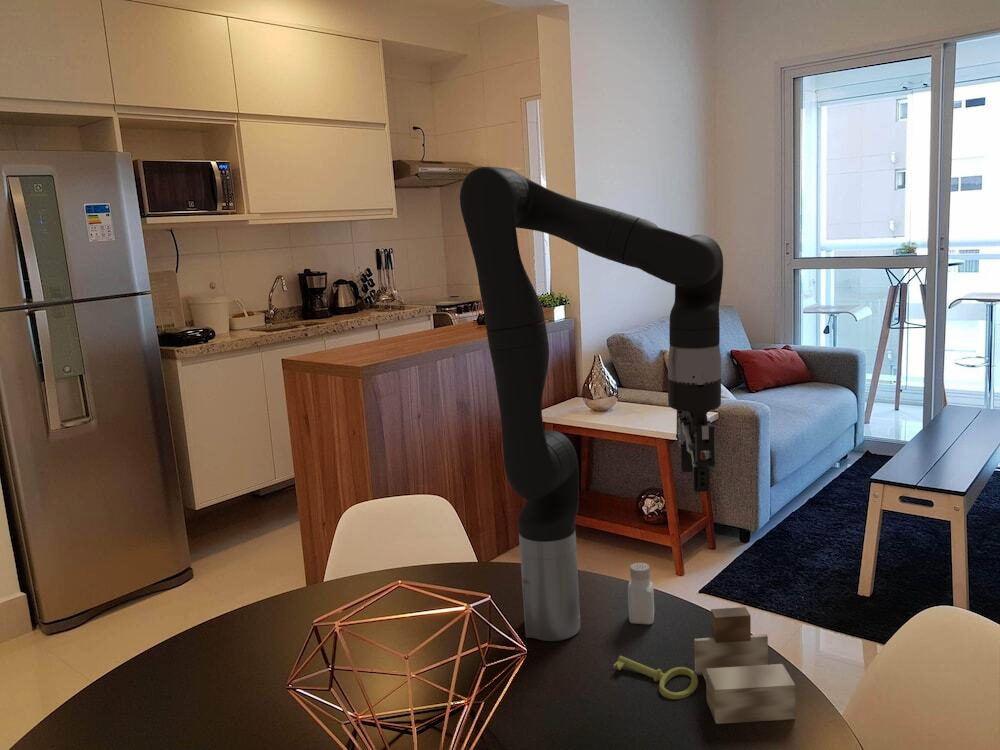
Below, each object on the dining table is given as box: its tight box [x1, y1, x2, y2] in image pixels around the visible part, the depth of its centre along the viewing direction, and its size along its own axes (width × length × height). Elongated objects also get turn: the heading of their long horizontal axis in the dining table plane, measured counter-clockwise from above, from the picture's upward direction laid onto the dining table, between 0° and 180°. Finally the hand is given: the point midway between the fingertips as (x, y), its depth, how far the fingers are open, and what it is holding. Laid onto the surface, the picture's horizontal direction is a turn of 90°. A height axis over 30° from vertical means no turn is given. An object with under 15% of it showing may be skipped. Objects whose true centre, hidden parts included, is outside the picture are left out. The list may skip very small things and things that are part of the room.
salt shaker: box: [627, 562, 655, 625], centre depth 136 cm, size 4×4×10 cm
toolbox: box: [705, 663, 796, 725], centre depth 110 cm, size 10×5×5 cm, turn 90°
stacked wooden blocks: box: [693, 606, 769, 682], centre depth 117 cm, size 10×6×9 cm, turn 90°
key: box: [613, 655, 699, 700], centre depth 119 cm, size 7×12×2 cm, turn 71°
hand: (694, 480), depth 122 cm, fingers open, 8 cm apart
